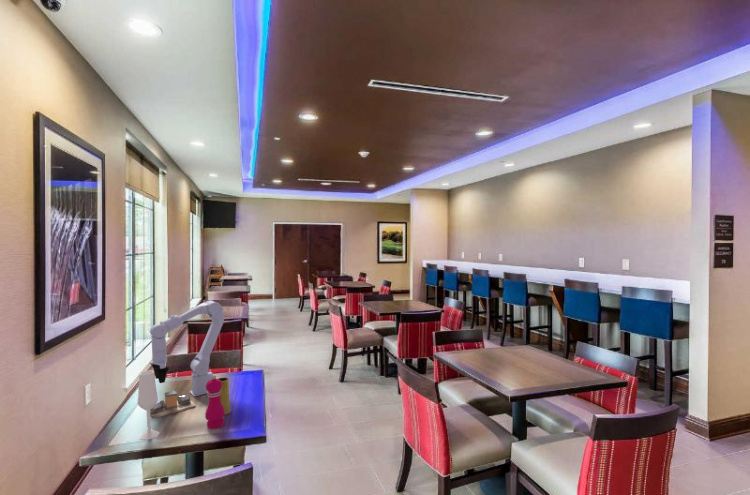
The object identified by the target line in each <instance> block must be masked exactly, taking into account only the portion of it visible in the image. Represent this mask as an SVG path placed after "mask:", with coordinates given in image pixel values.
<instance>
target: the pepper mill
mask: <svg viewBox="0 0 750 495" xmlns="http://www.w3.org/2000/svg"><path fill="white" fill-rule="evenodd" d="M221 388H222V382H221V380H219V379H218V378H217V376H216V375H215V374H213V376H212V377H211V380H209V381H208V382H207V383H206V390H207V391H208V393H207V397H208V404H207V407H206V410H205V413H204V414H205V415H204V416H205V420H207V422H206V427H207V429H210V428H211V429H212V430H214V429H213V428H215V429H219V428H221V427H223V426H224V425H225V419H224V417H225V416H226V415H225V410H224V408H223V406H222V404H221V401H220V395H221V390H220V389H221Z"/></svg>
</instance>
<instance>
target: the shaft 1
mask: <svg viewBox="0 0 750 495" xmlns="http://www.w3.org/2000/svg"><path fill="white" fill-rule="evenodd" d="M163 409H165V400H159V402H157V403H156V405H155V406H154V407H153V408H152V409H151V410H150V413H152V414H157V413H160V412H163Z"/></svg>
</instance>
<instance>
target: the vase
mask: <svg viewBox="0 0 750 495" xmlns="http://www.w3.org/2000/svg"><path fill="white" fill-rule="evenodd" d="M217 379H219V380H221V382H222V388H221V389H220V390H221V395H220V401H221V404H222V406H223V408H224V410H225V415H224V416H227V415H230V413H231V402H230V399H231V398H230V387H229V386H230V385H229V378H228V377H217Z"/></svg>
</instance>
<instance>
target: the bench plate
mask: <svg viewBox="0 0 750 495" xmlns="http://www.w3.org/2000/svg"><path fill="white" fill-rule="evenodd" d="M194 408H196V404H195V403H194V402H193V401H192V400H191V403H190V404H186V405H181V404H178V401H177V407H175V408H171V409H166V407H165V409H163V412H160V413H157V414H152V413H150V418H151V419H155V418H158V417H159V418H160V417H164V416H167V415H171V414H175V413H179V412H182V411H187V410H190V409H194Z"/></svg>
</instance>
